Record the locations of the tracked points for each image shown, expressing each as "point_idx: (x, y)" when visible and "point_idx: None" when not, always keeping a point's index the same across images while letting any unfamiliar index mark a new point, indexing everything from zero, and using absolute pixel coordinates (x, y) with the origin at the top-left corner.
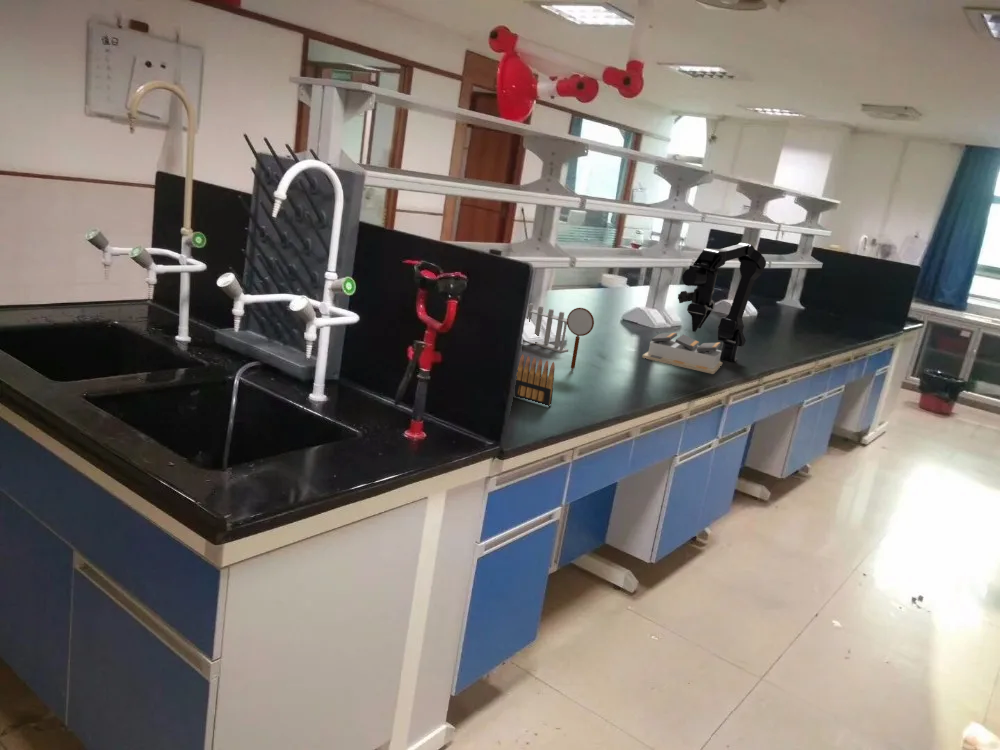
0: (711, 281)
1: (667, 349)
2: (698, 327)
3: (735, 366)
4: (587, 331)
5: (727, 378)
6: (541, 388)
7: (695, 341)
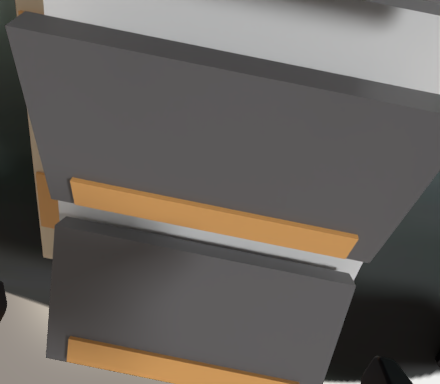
0: None
1: None
2: (372, 370)
3: (337, 350)
4: None
5: (37, 293)
6: None
7: (302, 234)
